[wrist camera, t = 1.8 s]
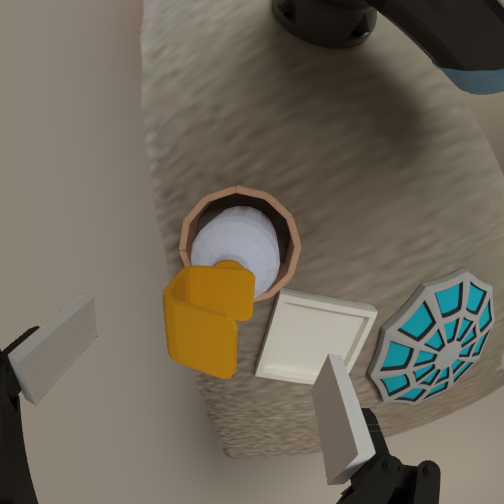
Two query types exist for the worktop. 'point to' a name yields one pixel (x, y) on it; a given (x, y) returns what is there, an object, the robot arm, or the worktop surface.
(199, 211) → the holder ring
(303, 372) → the tray
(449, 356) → the decorative platform
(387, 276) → the worktop surface
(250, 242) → the soap bottle
